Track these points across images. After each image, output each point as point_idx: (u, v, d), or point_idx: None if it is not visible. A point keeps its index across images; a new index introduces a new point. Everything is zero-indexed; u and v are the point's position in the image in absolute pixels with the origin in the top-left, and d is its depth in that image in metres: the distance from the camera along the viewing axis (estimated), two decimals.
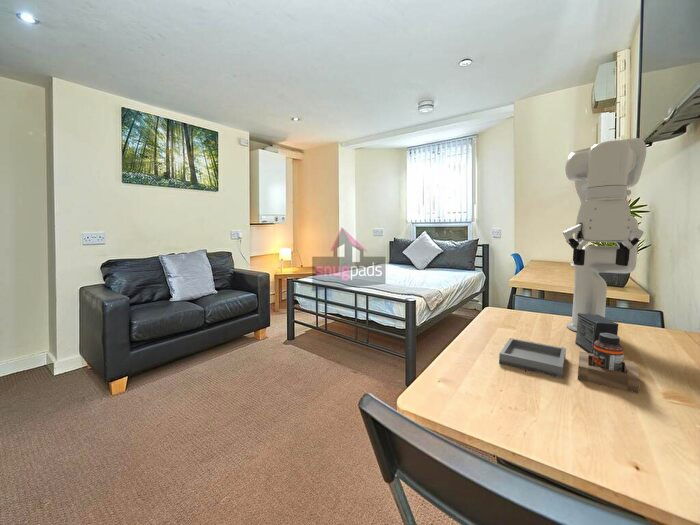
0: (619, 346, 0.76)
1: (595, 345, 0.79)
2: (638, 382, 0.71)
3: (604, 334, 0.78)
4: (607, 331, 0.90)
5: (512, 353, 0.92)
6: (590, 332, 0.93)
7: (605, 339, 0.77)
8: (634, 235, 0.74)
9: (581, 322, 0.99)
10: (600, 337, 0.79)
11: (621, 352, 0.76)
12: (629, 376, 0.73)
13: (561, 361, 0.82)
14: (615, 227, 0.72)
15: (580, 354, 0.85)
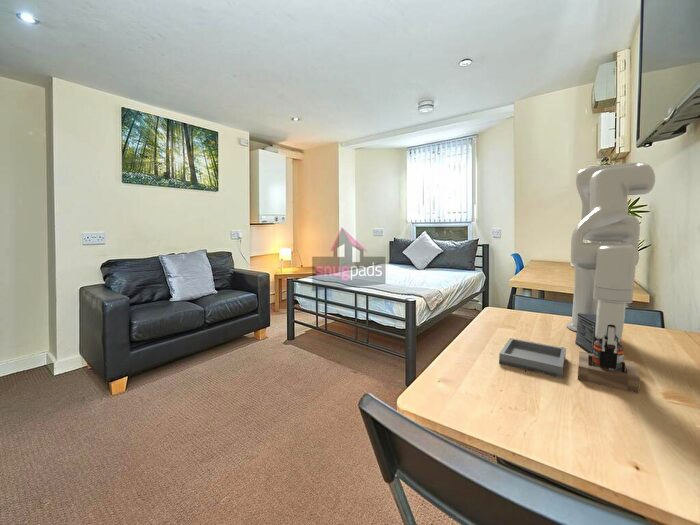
0: (619, 346, 0.76)
1: (595, 345, 0.79)
2: (638, 382, 0.71)
3: None
4: None
5: (512, 353, 0.92)
6: (590, 332, 0.93)
7: None
8: None
9: (581, 322, 0.99)
10: None
11: (621, 352, 0.76)
12: (629, 376, 0.73)
13: (561, 361, 0.82)
14: None
15: (580, 354, 0.85)
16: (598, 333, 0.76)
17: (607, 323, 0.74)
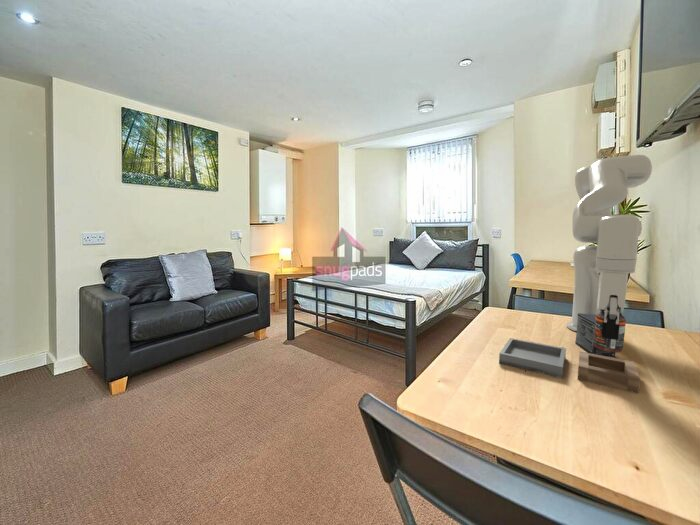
0: (621, 317, 0.76)
1: (597, 317, 0.79)
2: (638, 382, 0.71)
3: None
4: None
5: (512, 353, 0.92)
6: (590, 332, 0.93)
7: None
8: None
9: (581, 322, 0.99)
10: (602, 309, 0.78)
11: (623, 323, 0.75)
12: (629, 376, 0.73)
13: (561, 361, 0.82)
14: None
15: (580, 354, 0.85)
16: (600, 304, 0.75)
17: (609, 293, 0.74)
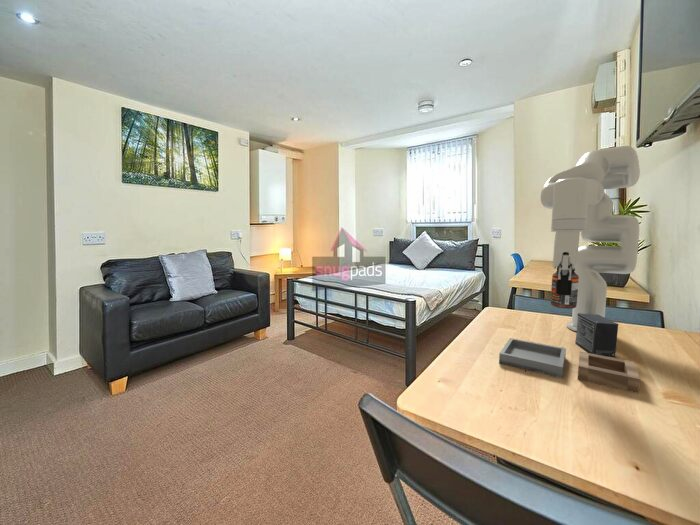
0: (574, 274, 0.80)
1: (553, 276, 0.83)
2: (638, 382, 0.71)
3: None
4: (607, 331, 0.90)
5: (512, 353, 0.92)
6: (590, 332, 0.93)
7: None
8: None
9: (581, 322, 0.99)
10: (557, 268, 0.83)
11: (576, 280, 0.80)
12: (629, 376, 0.73)
13: (561, 361, 0.82)
14: None
15: (580, 354, 0.85)
16: (554, 262, 0.80)
17: (562, 251, 0.78)
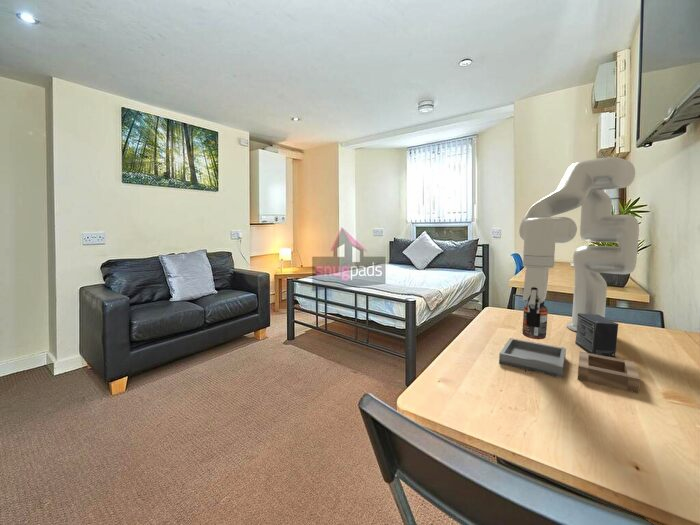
0: (543, 307, 0.85)
1: (524, 308, 0.88)
2: (638, 382, 0.71)
3: None
4: (607, 331, 0.90)
5: (512, 353, 0.92)
6: (590, 332, 0.93)
7: None
8: None
9: (581, 322, 0.99)
10: (528, 300, 0.88)
11: (544, 312, 0.85)
12: (629, 376, 0.73)
13: (561, 361, 0.82)
14: (546, 289, 0.87)
15: (580, 354, 0.85)
16: (524, 295, 0.85)
17: (531, 286, 0.84)
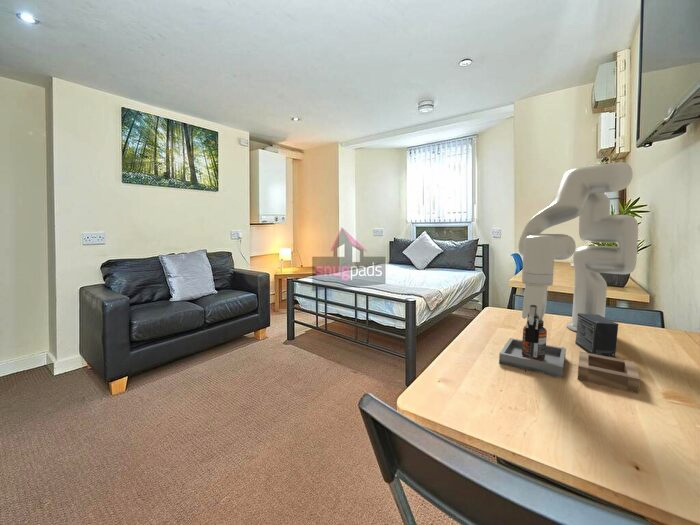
0: (542, 329, 0.86)
1: (523, 329, 0.89)
2: (638, 382, 0.71)
3: None
4: (607, 331, 0.90)
5: (512, 353, 0.92)
6: (590, 332, 0.93)
7: None
8: None
9: (581, 322, 0.99)
10: None
11: (544, 335, 0.86)
12: (629, 376, 0.73)
13: (561, 361, 0.82)
14: None
15: (580, 354, 0.85)
16: (523, 313, 0.85)
17: (530, 302, 0.84)
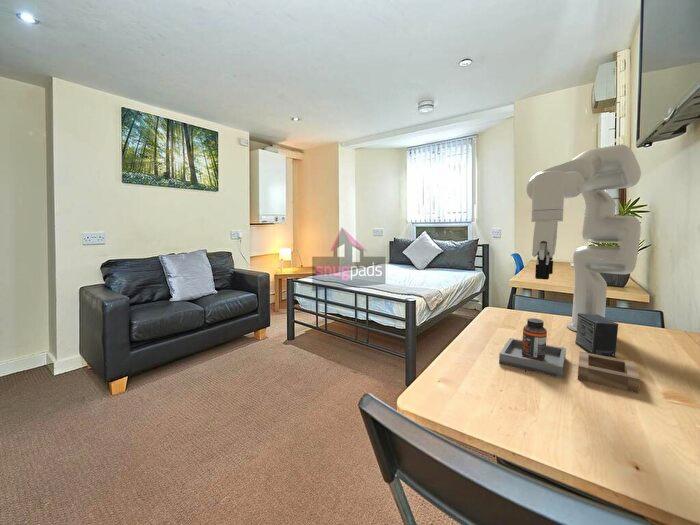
0: (542, 329, 0.86)
1: (523, 329, 0.89)
2: (638, 382, 0.71)
3: (531, 319, 0.88)
4: (607, 331, 0.90)
5: (512, 353, 0.92)
6: (590, 332, 0.93)
7: (531, 323, 0.87)
8: None
9: (581, 322, 0.99)
10: (527, 322, 0.88)
11: (544, 335, 0.86)
12: (629, 376, 0.73)
13: (561, 361, 0.82)
14: None
15: (580, 354, 0.85)
16: (533, 250, 0.85)
17: (540, 238, 0.84)
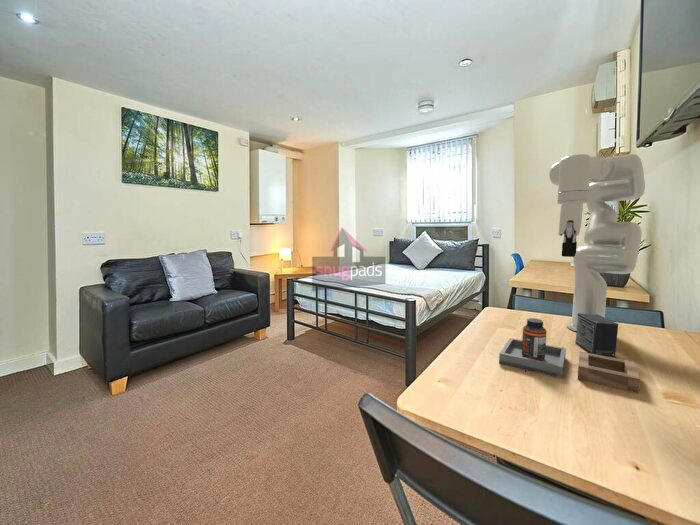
0: (542, 329, 0.86)
1: (523, 329, 0.89)
2: (638, 382, 0.71)
3: (530, 319, 0.88)
4: (607, 331, 0.90)
5: (512, 353, 0.92)
6: (590, 332, 0.93)
7: (530, 323, 0.87)
8: None
9: (581, 322, 0.99)
10: (527, 322, 0.89)
11: (543, 334, 0.86)
12: (629, 376, 0.73)
13: (561, 361, 0.82)
14: None
15: (580, 354, 0.85)
16: (560, 229, 0.90)
17: (567, 218, 0.89)
